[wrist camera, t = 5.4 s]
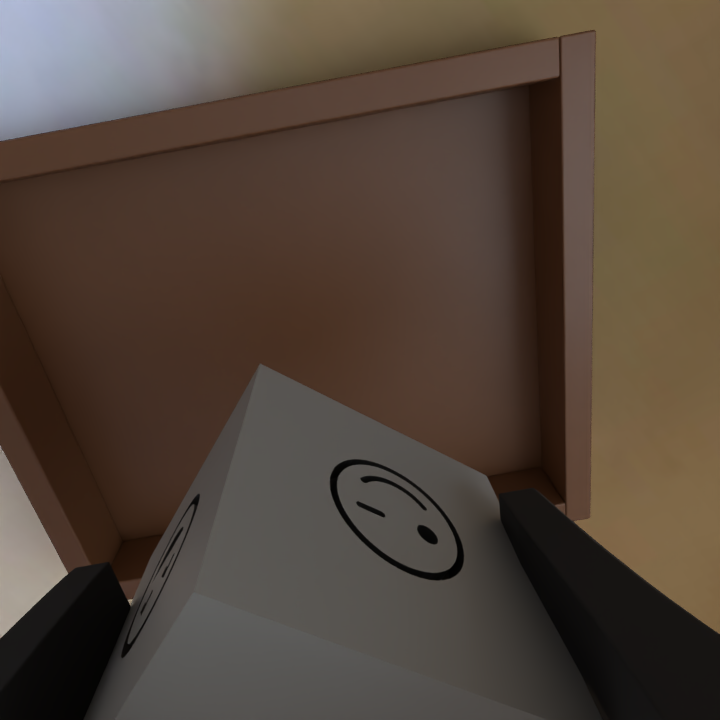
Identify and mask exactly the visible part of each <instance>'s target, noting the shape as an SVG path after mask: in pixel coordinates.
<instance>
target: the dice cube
mask: <svg viewBox="0 0 720 720" xmlns="http://www.w3.org/2000/svg"><path fill="white" fill-rule="evenodd" d="M130 606H131V608H130V611H129V613H128V616H127V618H126V620H125V623H124V625H123V628H122V630H121V633H120V635H119V637H118V640H117V642H116V645H115V647H114V649H113V652H112V654H111V657H110V659H109V661H108V664H107V666H106V668H105V671H104V673H103V675H102V678H101V680H100V682H99V685H98V687H97V689H96V692H95V694H94V696H93V699H92V701H91V703H90V706H89V708H88V710H87V713H86V715H85V717H84V720H603V719H602V717H601V715H600V713H599V711H598V709H597V707H596V705H595V703H594V700H593V698H592V696H591V694H590V692H589V690H588V688H587V686H586V684H585V682H584V679H583V677H582V675H581V673H580V671H579V670H578V668H577V666H576V664H575V662H574V660H573V659H572V657H571V655H570V653H569V651H568V649H567V648H566V646H565V644H564V642H563V640H562V639H561V637H560V635H559V633H558V631H557V629H556V628H555V626H554V624H553V622H552V620H551V618H550V617H549V615H548V613H547V611H546V609H545V607H544V606H543V604H542V602H541V600H540V598H539V597H538V595H537V593H536V591H535V589H534V587H533V586H532V584H531V582H530V580H529V578H528V576H527V575H526V573H525V571H524V569H523V567H522V566H521V564H520V562H519V559H518V557H517V555H516V553H515V551H514V548H513V546H512V544H511V542H510V540H509V537H508V535H507V533H506V531H505V529H504V527H503V524H502V522H501V520H500V506H499V501H498V499H497V497H496V495H495V493H494V490H493V488H492V486H491V484H490V482H489V480H488V478H487V476H486V475H484V474H482V473H480V472H478V471H476V470H474V469H472V468H470V467H468V466H466V465H464V464H462V463H460V462H458V461H456V460H454V459H452V458H450V457H448V456H446V455H444V454H442V453H440V452H438V451H436V450H434V449H432V448H430V447H428V446H426V445H424V444H422V443H420V442H418V441H416V440H414V439H412V438H410V437H407V436H405V435H403V434H401V433H399V432H397V431H395V430H393V429H391V428H389V427H387V426H385V425H383V424H381V423H379V422H377V421H375V420H373V419H371V418H369V417H367V416H365V415H363V414H361V413H359V412H357V411H355V410H353V409H351V408H349V407H347V406H345V405H343V404H341V403H339V402H337V401H335V400H333V399H331V398H329V397H327V396H325V395H323V394H321V393H319V392H317V391H315V390H313V389H311V388H309V387H307V386H305V385H303V384H301V383H299V382H297V381H295V380H293V379H290V378H288V377H286V376H284V375H282V374H280V373H278V372H276V371H274V370H272V369H270V368H268V367H266V366H264V365H262V364H259V366H258V368H257V370H256V372H255V373H254V375H253V377H252V379H251V380H250V382H249V384H248V386H247V387H246V389H245V391H244V393H243V395H242V396H241V398H240V400H239V402H238V403H237V405H236V407H235V409H234V411H233V412H232V414H231V416H230V418H229V419H228V421H227V423H226V425H225V426H224V428H223V430H222V432H221V434H220V435H219V437H218V439H217V441H216V442H215V444H214V446H213V448H212V449H211V451H210V453H209V455H208V457H207V458H206V460H205V462H204V464H203V465H202V467H201V469H200V471H199V472H198V474H197V476H196V478H195V480H194V481H193V483H192V485H191V487H190V488H189V490H188V492H187V494H186V495H185V497H184V499H183V501H182V503H181V504H180V506H179V508H178V510H177V511H176V513H175V515H174V517H173V518H172V520H171V522H170V524H169V526H168V527H167V529H166V531H165V533H164V534H163V536H162V538H161V540H160V541H159V543H158V545H157V547H156V549H155V550H154V552H153V554H152V556H151V557H150V560H149V562H148V564H147V567H146V569H145V572H144V574H143V576H142V579H141V581H140V584H139V586H138V588H137V591H136V593H135V596H134V598H133V600H132V603H131V605H130Z"/></svg>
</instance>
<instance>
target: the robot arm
mask: <svg viewBox="0 0 720 720" xmlns="http://www.w3.org/2000/svg"><path fill="white" fill-rule="evenodd" d="M499 506H500V520H501V522H502V524H503V527H504V529H505V531H506V533H507V535H508V537H509V540H510V542H511V544H512V546H513V548H514V551H515V553H516V555H517V557H518V559H519V562H520V564H521V566H522V567H523V569H524V571H525V573H526V575H527V576H528V578H529V580H530V582H531V584H532V586H533V587H534V589H535V591H536V593H537V595H538V597H539V598H540V600H541V602H542V604H543V606H544V607H545V609H546V611H547V613H548V615H549V617H550V618H551V620H552V622H553V624H554V626H555V628H556V629H557V631H558V633H559V635H560V637H561V639H562V640H563V642H564V644H565V646H566V648H567V649H568V651H569V653H570V655H571V657H572V659H573V660H574V662H575V664H576V666H577V668H578V670H579V671H580V673H581V675H582V677H583V679H584V682H585V684H586V686H587V688H588V690H589V692H590V694H591V696H592V698H593V700H594V703H595V705H596V707H597V709H598V711H599V713H600V715H601V717H602V719H603V720H720V634H718V633H717V632H716V631H714V630H713V629H711V628H710V627H708V626H707V625H705V624H704V623H703V622H701V621H700V620H698V619H697V618H696V617H694V616H693V615H691V614H690V613H689V612H687V611H686V610H684V609H683V608H682V607H680V606H679V605H678V604H676V603H675V602H673V601H672V600H671V599H669V598H668V597H667V596H665V595H664V594H663V593H661V592H660V591H659V590H657V589H656V588H655V587H653V586H652V585H651V584H649V583H648V582H647V581H645V580H644V579H643V578H642V577H640V576H639V575H638V574H636V573H635V572H634V571H633V570H631V569H630V568H629V567H628V566H626V565H625V564H624V563H623V562H621V561H620V560H619V559H617V558H616V557H615V556H614V555H612V554H611V553H610V552H609V551H607V550H606V549H605V548H604V547H603V546H601V545H600V544H599V543H598V542H597V541H595V540H594V539H593V538H592V537H591V536H589V535H588V534H587V533H586V532H585V531H584V530H582V529H581V528H580V527H579V526H578V525H576V524H575V523H574V522H573V521H572V520H571V519H570V518H568V517H567V516H566V515H565V514H564V513H563V512H561V511H560V510H559V509H558V508H557V507H556V506H555V505H554V504H552V503H551V502H550V501H549V500H548V499H547V498H546V497H545V496H543V495H542V494H541V493H540V492H539V491H537V490H536V489H534V488H528V489H522V490H517V491H511V492H505V493H500V494H499ZM130 608H131V606H130V604H129V602H128V600H127V598H126V596H125V594H124V592H123V590H122V588H121V586H120V583H119V581H118V579H117V577H116V575H115V573H114V571H113V569H112V567H111V565H110V563H109V562H105V563H100V564H94V565H88V566H82V567H77V568H75V569H73V570H72V571H71V572H70V573H69V574H68V575H66V576H65V577H64V578H63V579H62V580H61V581H60V582H59V583H58V584H57V585H55V586H54V587H53V588H52V589H51V590H50V591H49V592H48V593H47V594H46V595H45V596H44V597H43V598H42V599H41V600H40V601H39V602H38V603H36V604H35V605H34V606H33V607H32V608H31V609H30V610H29V611H28V612H27V613H26V614H25V615H24V616H23V617H22V618H21V619H20V620H19V621H18V622H17V623H16V624H15V625H14V626H13V627H12V628H11V629H10V630H9V631H8V632H7V633H6V634H5V635H4V636H3V637H2V638H0V720H84V717H85V715H86V713H87V710H88V708H89V706H90V703H91V701H92V699H93V696H94V694H95V692H96V689H97V687H98V685H99V682H100V680H101V678H102V675H103V673H104V671H105V668H106V666H107V664H108V661H109V659H110V657H111V654H112V652H113V649H114V647H115V645H116V642H117V640H118V637H119V635H120V633H121V630H122V628H123V625H124V623H125V620H126V618H127V616H128V613H129V611H130Z"/></svg>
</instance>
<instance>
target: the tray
mask: <svg viewBox="0 0 720 720" xmlns="http://www.w3.org/2000/svg"><path fill="white" fill-rule="evenodd" d="M595 50H596V31H595V30H590V31H585V32H580V33H574V34H569V35H564V36H560V37H553V38H548V39H543V40H537V41H532V42H527V43H521V44H516V45H511V46H505V47H500V48H495V49H489V50H484V51H479V52H473V53H468V54H463V55H457V56H452V57H447V58H441V59H436V60H431V61H425V62H420V63H415V64H409V65H404V66H399V67H393V68H388V69H383V70H377V71H372V72H367V73H361V74H356V75H351V76H345V77H340V78H335V79H329V80H324V81H319V82H313V83H308V84H303V85H297V86H292V87H287V88H281V89H276V90H271V91H265V92H260V93H255V94H249V95H244V96H239V97H233V98H228V99H223V100H217V101H212V102H207V103H201V104H196V105H191V106H185V107H180V108H175V109H169V110H164V111H159V112H153V113H148V114H143V115H137V116H132V117H127V118H121V119H116V120H111V121H105V122H100V123H95V124H89V125H84V126H79V127H73V128H68V129H63V130H57V131H52V132H47V133H41V134H36V135H31V136H25V137H20V138H15V139H9V140H4V141H0V446H1V447H2V449H3V451H4V453H5V455H6V457H7V459H8V461H9V463H10V464H11V466H12V468H13V470H14V472H15V474H16V476H17V478H18V480H19V481H20V483H21V485H22V487H23V489H24V491H25V493H26V495H27V496H28V498H29V500H30V502H31V504H32V506H33V508H34V510H35V512H36V513H37V515H38V517H39V519H40V521H41V523H42V525H43V527H44V529H45V530H46V532H47V534H48V536H49V538H50V540H51V542H52V544H53V545H54V547H55V549H56V551H57V553H58V555H59V557H60V559H61V561H62V562H63V564H64V566H65V568H66V570H67V572H68V574H69V573H70V572H71V571H72V570H73V569H75V568H77V567H82V566H88V565H94V564H100V563H105V562H109V563H110V565H111V567H112V569H113V571H114V573H115V575H116V577H117V579H118V581H119V583H120V586H121V588H122V590H123V592H124V594H125V596H126V598H127V600H128V599H133V598H134V596H135V593H136V591H137V588H138V586H139V584H140V581H141V579H142V576H143V574H144V572H145V569H146V567H147V564H148V562H149V560H150V557H151V556H152V554H153V552H154V550H155V549H156V547H157V545H158V543H159V541H160V540H161V538H162V536H163V534H164V533H165V531H166V529H167V527H168V526H169V524H170V522H171V520H172V518H173V517H174V515H175V513H176V511H177V510H178V508H179V506H180V504H181V503H182V501H183V499H184V497H185V495H186V494H187V492H188V490H189V488H190V487H191V485H192V483H193V481H194V480H195V478H196V476H197V474H198V472H199V471H200V469H201V467H202V465H203V464H204V462H205V460H206V458H207V457H208V455H209V453H210V451H211V449H212V448H213V446H214V444H215V442H216V441H217V439H218V437H219V435H220V434H221V432H222V430H223V428H224V426H225V425H226V423H227V421H228V419H229V418H230V416H231V414H232V412H233V411H234V409H235V407H236V405H237V403H238V402H239V400H240V398H241V396H242V395H243V393H244V391H245V389H246V387H247V386H248V384H249V382H250V380H251V379H252V377H253V375H254V373H255V372H256V370H257V368H258V366H259V364H262V365H264V366H266V367H268V368H270V369H272V370H274V371H276V372H278V373H280V374H282V375H284V376H286V377H288V378H290V379H293V380H295V381H297V382H299V383H301V384H303V385H305V386H307V387H309V388H311V389H313V390H315V391H317V392H319V393H321V394H323V395H325V396H327V397H329V398H331V399H333V400H335V401H337V402H339V403H341V404H343V405H345V406H347V407H349V408H351V409H353V410H355V411H357V412H359V413H361V414H363V415H365V416H367V417H369V418H371V419H373V420H375V421H377V422H379V423H381V424H383V425H385V426H387V427H389V428H391V429H393V430H395V431H397V432H399V433H401V434H403V435H405V436H407V437H410V438H412V439H414V440H416V441H418V442H420V443H422V444H424V445H426V446H428V447H430V448H432V449H434V450H436V451H438V452H440V453H442V454H444V455H446V456H448V457H450V458H452V459H454V460H456V461H458V462H460V463H462V464H464V465H466V466H468V467H470V468H472V469H474V470H476V471H478V472H480V473H482V474H484V475H486V476H487V478H488V480H489V482H490V484H491V486H492V488H493V490H494V493H495V495H496V497H497V499H498V501H499V494H500V493H505V492H511V491H517V490H522V489H528V488H534V489H536V490H537V491H539V492H540V493H541V494H542V495H543V496H545V497H546V498H547V499H548V500H549V501H550V502H551V503H552V504H554V505H555V506H556V507H557V508H558V509H559V510H560V511H561V512H563V513H564V514H565V515H566V516H567V517H568V518H570V519H571V520H572V521H577V520H582V519H588V518H590V496H591V407H592V318H593V228H594V139H595Z"/></svg>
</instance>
